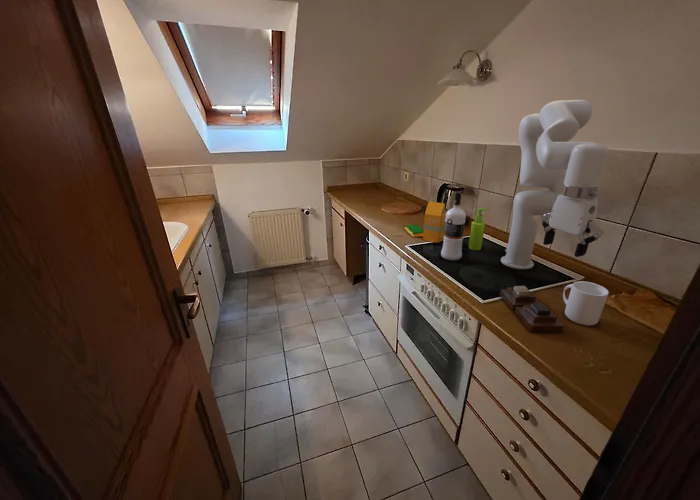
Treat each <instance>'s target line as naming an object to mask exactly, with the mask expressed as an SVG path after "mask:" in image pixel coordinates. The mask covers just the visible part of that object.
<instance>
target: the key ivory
mask: <svg viewBox="0 0 700 500" xmlns="http://www.w3.org/2000/svg"><path fill="white" fill-rule="evenodd" d="M513 287H514V289H513V291H514V292H515V293H516V294H517V295H529V294H530V292H531V291H530V289H528V287H526V286H525V285H514V286H513Z"/></svg>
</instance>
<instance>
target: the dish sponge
mask: <svg viewBox="0 0 700 500" xmlns="http://www.w3.org/2000/svg"><path fill="white" fill-rule="evenodd" d="M404 227H405V228H404V230H405V231H406V232H407V233H408V234H410V236H412V237H413V238H415V237H416V238H418V237H423V232H424V228H422V227H421V226H420V225H418V224H406V225H405V226H404Z"/></svg>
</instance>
